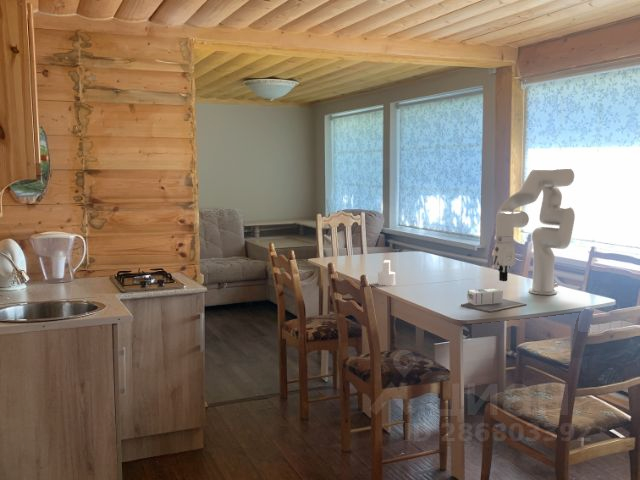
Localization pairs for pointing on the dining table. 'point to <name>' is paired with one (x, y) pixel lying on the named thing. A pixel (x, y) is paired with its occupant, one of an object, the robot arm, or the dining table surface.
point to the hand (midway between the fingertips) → (503, 280)
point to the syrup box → (485, 296)
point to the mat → (495, 306)
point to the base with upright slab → (386, 275)
